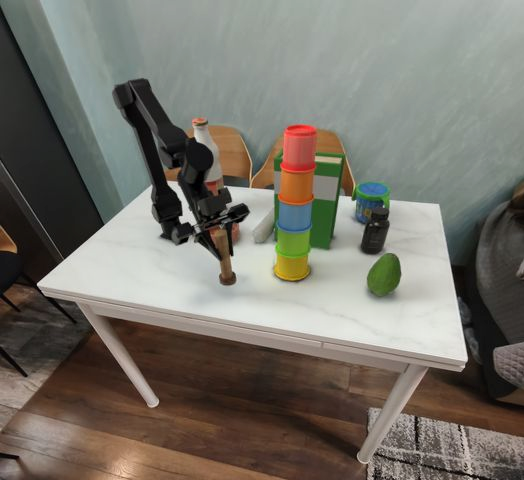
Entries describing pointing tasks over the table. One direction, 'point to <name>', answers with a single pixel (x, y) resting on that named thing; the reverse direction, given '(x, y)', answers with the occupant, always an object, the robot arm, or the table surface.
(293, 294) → the table surface
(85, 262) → the table surface
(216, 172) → the fruit juice
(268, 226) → the tube
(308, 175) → the stacking cups
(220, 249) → the muddler
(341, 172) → the hardback book
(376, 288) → the avocado
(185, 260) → the table surface
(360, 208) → the snack cup
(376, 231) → the supplement bottle
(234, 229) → the bowl
